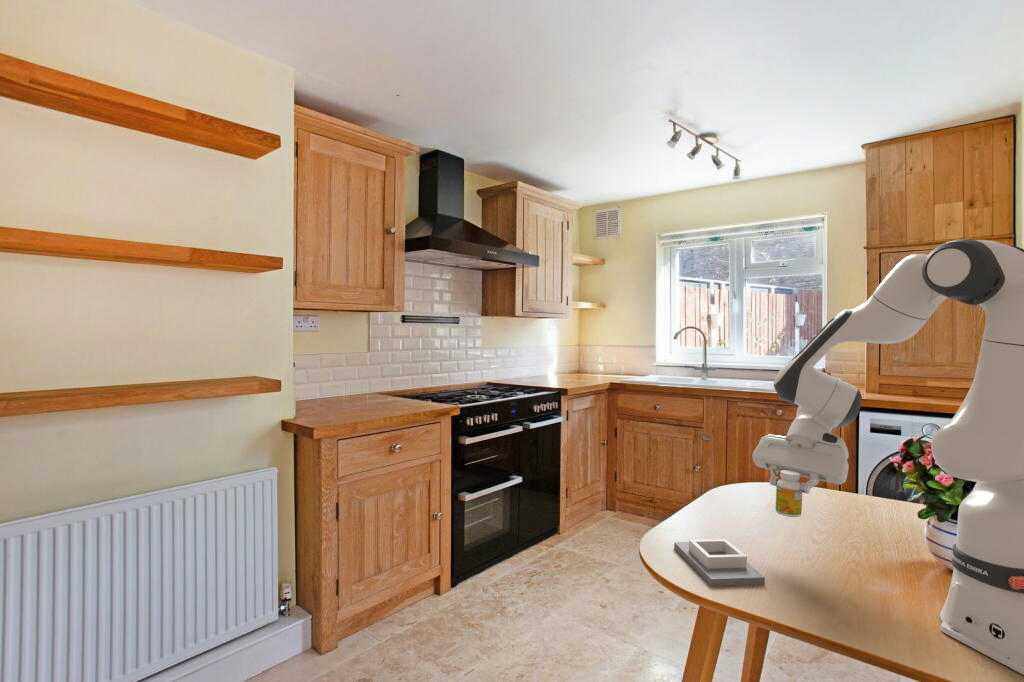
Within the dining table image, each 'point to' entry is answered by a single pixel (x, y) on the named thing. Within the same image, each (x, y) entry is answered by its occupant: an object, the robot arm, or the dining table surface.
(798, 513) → the supplement bottle
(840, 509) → the dining table surface
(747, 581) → the socket board
